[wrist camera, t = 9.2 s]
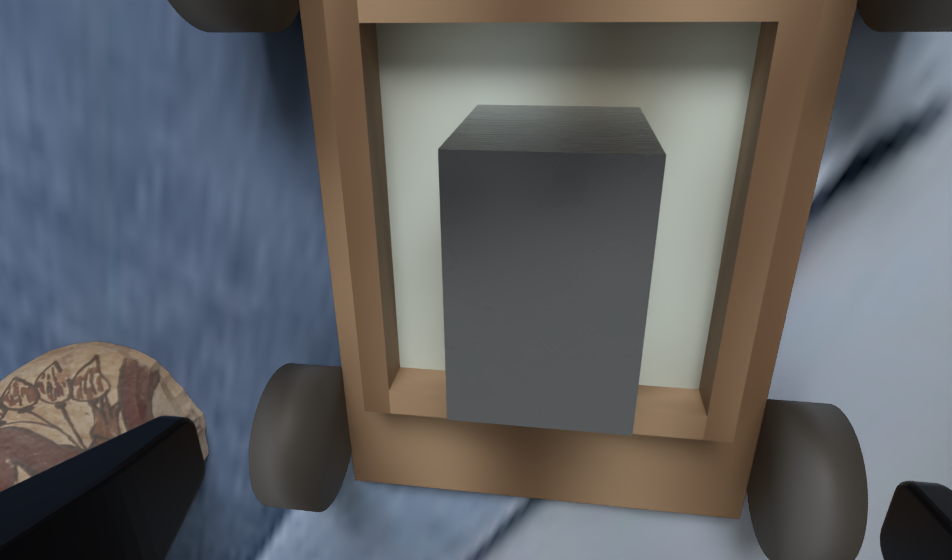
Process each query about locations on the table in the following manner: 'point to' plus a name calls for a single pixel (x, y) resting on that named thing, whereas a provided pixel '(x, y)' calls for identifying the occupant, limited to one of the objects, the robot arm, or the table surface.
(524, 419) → the block
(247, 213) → the table surface
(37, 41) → the table surface
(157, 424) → the robot arm
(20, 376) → the figurine
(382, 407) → the chassis
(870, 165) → the table surface
